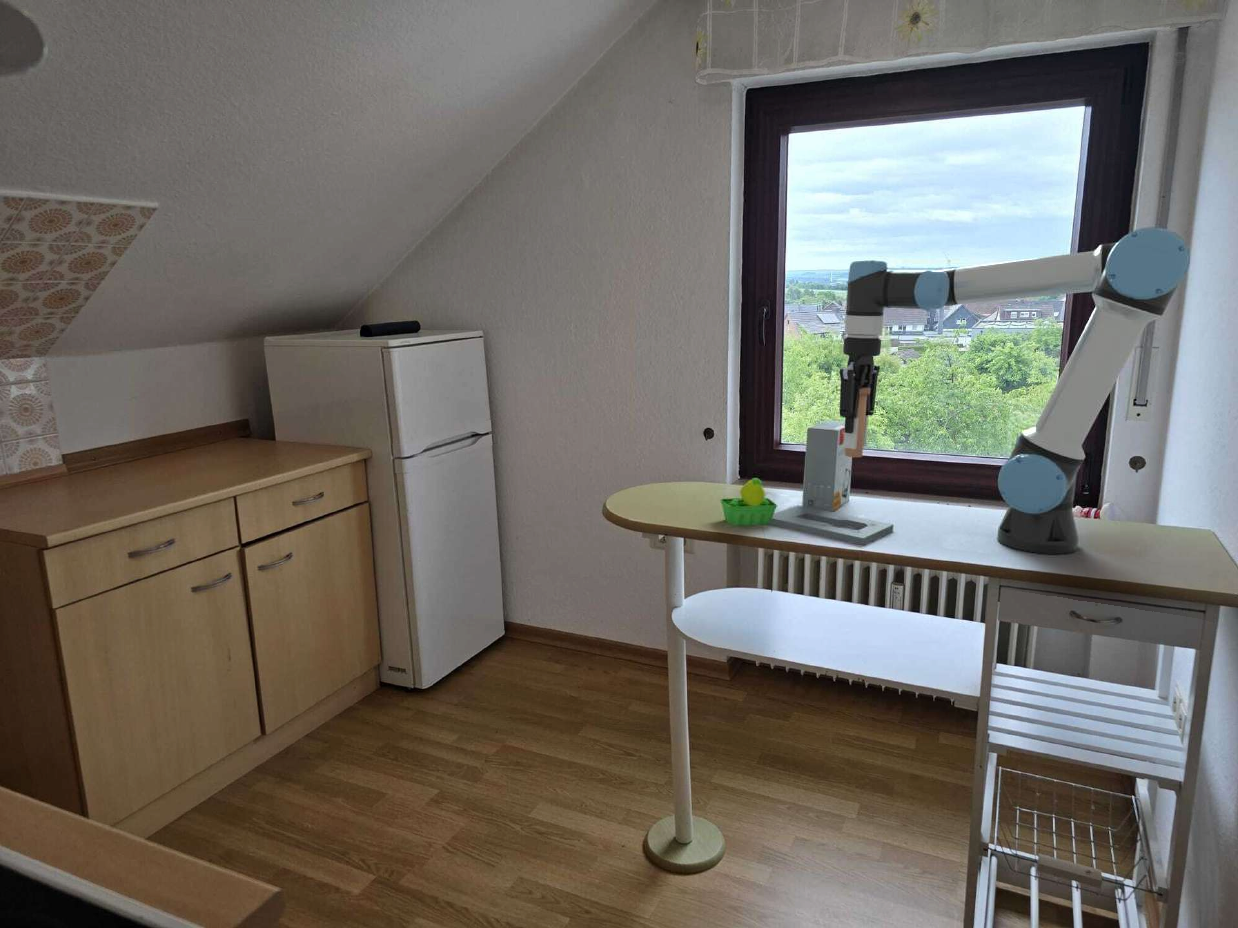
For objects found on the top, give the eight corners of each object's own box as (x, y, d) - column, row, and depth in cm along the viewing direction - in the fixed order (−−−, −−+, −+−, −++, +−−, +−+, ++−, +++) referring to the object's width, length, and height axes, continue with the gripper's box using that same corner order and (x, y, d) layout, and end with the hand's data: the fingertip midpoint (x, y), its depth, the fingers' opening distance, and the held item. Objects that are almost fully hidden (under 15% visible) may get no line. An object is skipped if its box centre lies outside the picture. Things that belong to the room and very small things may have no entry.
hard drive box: (832, 513, 198) (837, 430, 194) (801, 509, 202) (805, 427, 198) (850, 499, 211) (855, 421, 207) (820, 495, 215) (824, 418, 211)
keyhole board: (893, 530, 184) (893, 524, 184) (862, 545, 174) (863, 538, 174) (797, 511, 200) (797, 505, 200) (764, 523, 190) (765, 516, 190)
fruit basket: (765, 517, 196) (767, 470, 194) (779, 528, 188) (781, 479, 185) (718, 520, 194) (720, 472, 192) (730, 530, 186) (732, 481, 183)
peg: (869, 455, 180) (874, 387, 177) (858, 458, 177) (863, 389, 174) (848, 452, 184) (853, 385, 180) (838, 455, 180) (842, 387, 177)
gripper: (864, 333, 183) (857, 439, 188) (826, 337, 171) (819, 449, 176) (897, 335, 178) (888, 443, 183) (860, 339, 166) (851, 454, 171)
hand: (854, 446), depth 180 cm, fingers closed on peg, 4 cm apart
